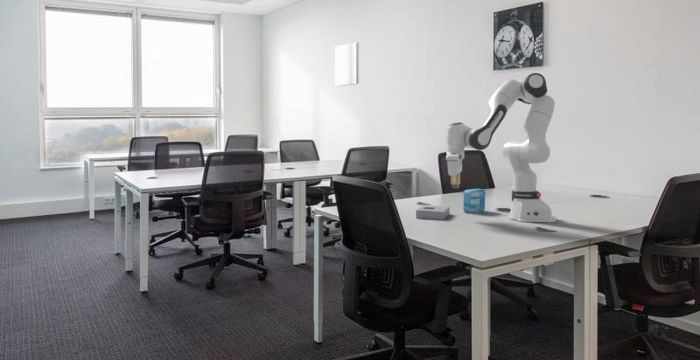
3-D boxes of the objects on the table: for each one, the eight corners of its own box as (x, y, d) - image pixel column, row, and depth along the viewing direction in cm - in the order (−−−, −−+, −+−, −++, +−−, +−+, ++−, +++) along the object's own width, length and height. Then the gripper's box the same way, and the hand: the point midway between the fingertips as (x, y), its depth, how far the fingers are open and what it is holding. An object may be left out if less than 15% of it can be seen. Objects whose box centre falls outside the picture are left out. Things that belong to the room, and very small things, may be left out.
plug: (460, 187, 266) (460, 171, 265) (458, 188, 263) (458, 172, 262) (452, 187, 268) (452, 171, 267) (450, 188, 264) (450, 172, 263)
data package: (469, 213, 278) (469, 191, 276) (463, 212, 281) (463, 190, 280) (484, 211, 284) (485, 189, 283) (478, 209, 288) (479, 188, 287)
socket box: (449, 214, 276) (449, 206, 275) (443, 219, 261) (443, 211, 260) (423, 212, 281) (423, 205, 280) (416, 218, 266) (416, 210, 265)
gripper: (452, 153, 274) (452, 179, 276) (445, 156, 255) (445, 185, 257) (465, 153, 272) (465, 180, 273) (458, 156, 253) (458, 185, 254)
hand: (455, 182), depth 265 cm, fingers closed on plug, 4 cm apart
